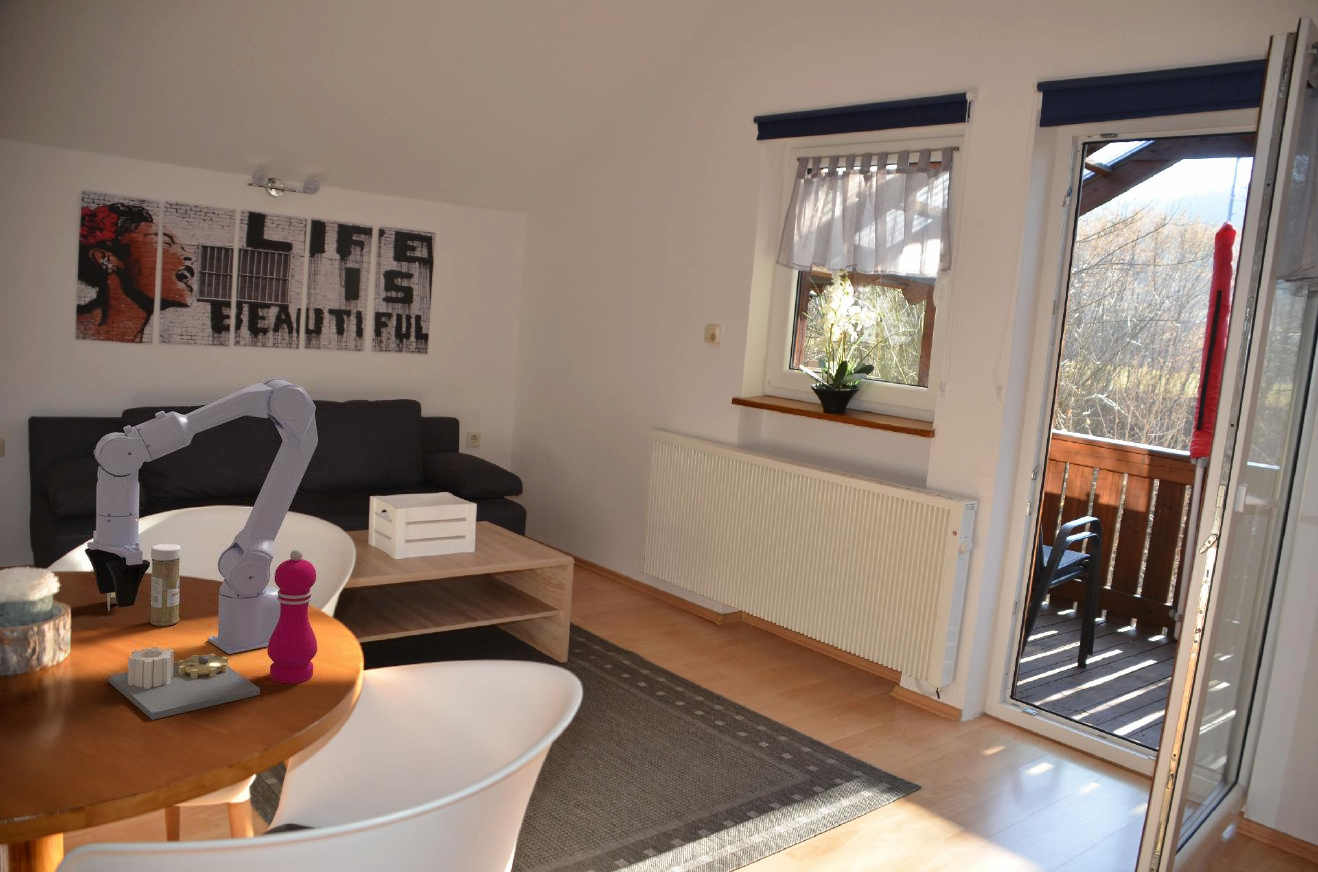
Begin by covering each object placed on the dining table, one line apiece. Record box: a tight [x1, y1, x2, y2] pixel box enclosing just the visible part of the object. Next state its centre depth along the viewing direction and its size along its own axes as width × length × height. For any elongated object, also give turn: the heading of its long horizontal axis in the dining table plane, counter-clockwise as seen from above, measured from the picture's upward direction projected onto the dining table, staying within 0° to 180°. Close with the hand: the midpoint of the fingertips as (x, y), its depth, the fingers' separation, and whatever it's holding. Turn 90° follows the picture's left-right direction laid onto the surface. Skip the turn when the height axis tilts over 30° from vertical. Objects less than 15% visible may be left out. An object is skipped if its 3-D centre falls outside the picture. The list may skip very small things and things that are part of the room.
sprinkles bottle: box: [149, 543, 182, 627], centre depth 173 cm, size 5×5×13 cm
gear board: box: [108, 653, 261, 721], centre depth 148 cm, size 15×16×4 cm
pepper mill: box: [266, 549, 318, 684], centre depth 155 cm, size 7×7×20 cm
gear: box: [127, 646, 175, 689], centre depth 147 cm, size 6×6×4 cm
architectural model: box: [106, 592, 117, 612], centre depth 179 cm, size 3×7×7 cm, turn 30°
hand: (116, 599), depth 156 cm, fingers open, 7 cm apart
